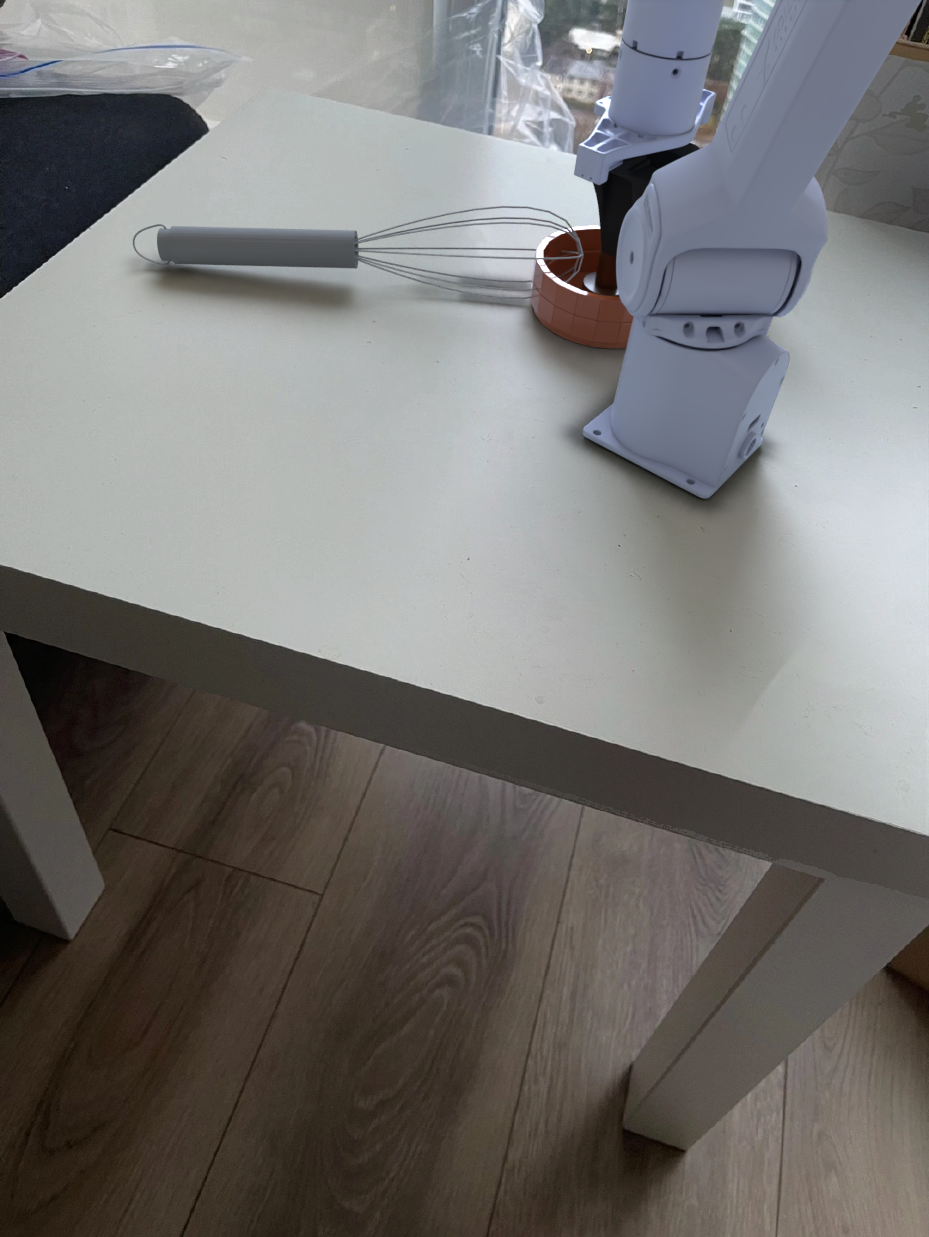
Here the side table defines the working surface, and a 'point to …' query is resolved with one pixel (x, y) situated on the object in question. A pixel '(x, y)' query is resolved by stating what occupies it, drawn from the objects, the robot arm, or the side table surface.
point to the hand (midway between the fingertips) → (623, 249)
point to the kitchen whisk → (319, 247)
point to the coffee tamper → (602, 277)
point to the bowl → (576, 293)
